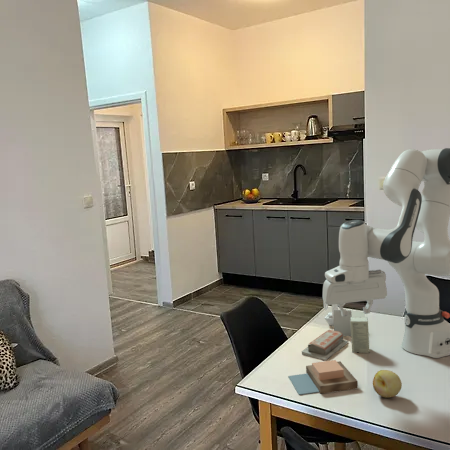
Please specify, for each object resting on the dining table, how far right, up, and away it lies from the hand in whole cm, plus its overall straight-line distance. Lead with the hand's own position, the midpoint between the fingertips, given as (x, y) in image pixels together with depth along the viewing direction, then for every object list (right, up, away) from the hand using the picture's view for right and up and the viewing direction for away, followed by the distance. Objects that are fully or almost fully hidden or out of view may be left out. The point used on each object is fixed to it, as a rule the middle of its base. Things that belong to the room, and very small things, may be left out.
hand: (355, 314), depth 144 cm
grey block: (+6, -16, +38) cm, 41 cm away
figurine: (+6, -14, +49) cm, 51 cm away
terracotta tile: (-8, -19, +2) cm, 21 cm away
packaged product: (-4, -19, +26) cm, 32 cm away
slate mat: (-16, -23, +1) cm, 28 cm away
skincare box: (+8, -18, +22) cm, 29 cm away
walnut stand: (-7, -22, +2) cm, 23 cm away
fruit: (+7, -23, -10) cm, 26 cm away
